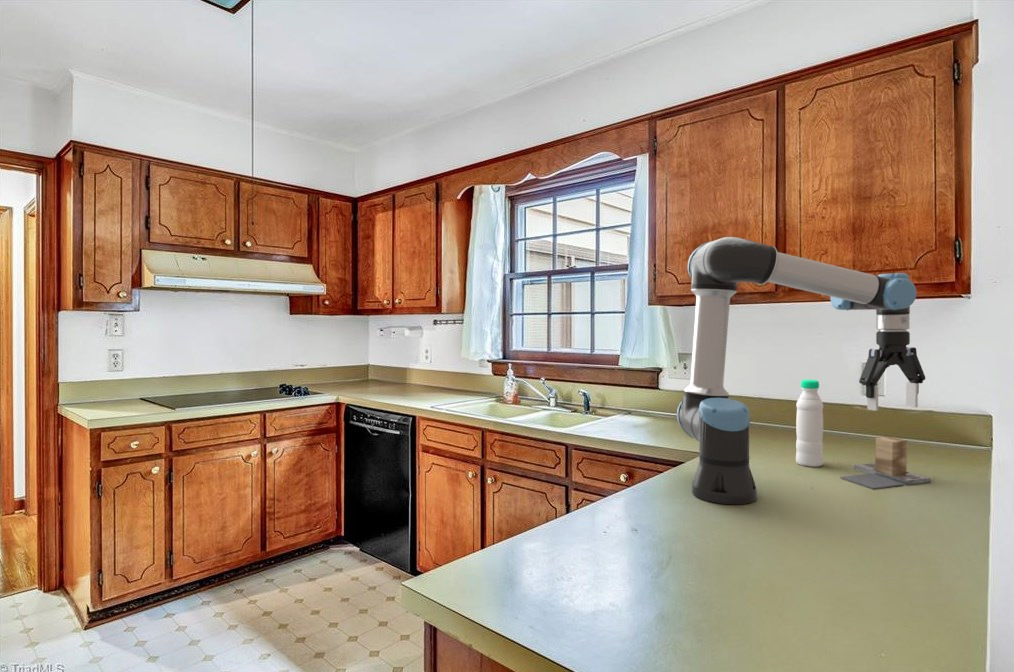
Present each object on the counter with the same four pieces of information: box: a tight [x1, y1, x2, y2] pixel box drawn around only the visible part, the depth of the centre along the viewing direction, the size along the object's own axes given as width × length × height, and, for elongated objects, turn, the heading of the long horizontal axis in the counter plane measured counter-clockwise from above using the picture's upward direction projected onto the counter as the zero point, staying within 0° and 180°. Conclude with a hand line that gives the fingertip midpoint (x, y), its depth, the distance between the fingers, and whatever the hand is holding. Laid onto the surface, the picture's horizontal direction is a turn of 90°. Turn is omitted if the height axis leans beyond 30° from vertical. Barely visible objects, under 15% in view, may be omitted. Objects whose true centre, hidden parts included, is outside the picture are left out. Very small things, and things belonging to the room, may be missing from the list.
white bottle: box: [795, 379, 824, 468], centre depth 167 cm, size 7×7×25 cm
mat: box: [840, 473, 905, 490], centre depth 150 cm, size 10×10×1 cm
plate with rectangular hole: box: [853, 462, 932, 486], centre depth 156 cm, size 8×16×1 cm, turn 15°
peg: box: [874, 436, 908, 475], centre depth 155 cm, size 5×5×10 cm
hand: (892, 408), depth 155 cm, fingers open, 13 cm apart
